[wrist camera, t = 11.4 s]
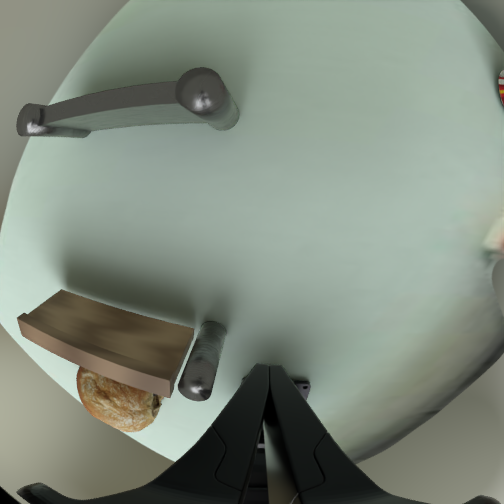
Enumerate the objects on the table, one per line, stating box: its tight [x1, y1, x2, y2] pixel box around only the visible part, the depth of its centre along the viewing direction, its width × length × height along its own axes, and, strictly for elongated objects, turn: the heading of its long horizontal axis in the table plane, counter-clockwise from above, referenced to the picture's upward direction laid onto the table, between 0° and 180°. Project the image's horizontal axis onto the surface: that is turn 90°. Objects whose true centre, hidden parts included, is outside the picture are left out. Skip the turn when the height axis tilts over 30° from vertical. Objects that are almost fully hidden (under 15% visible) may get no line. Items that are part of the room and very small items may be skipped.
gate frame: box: [17, 67, 239, 401], centre depth 16 cm, size 19×14×7 cm
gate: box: [17, 289, 194, 398], centre depth 18 cm, size 14×2×7 cm, turn 80°
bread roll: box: [76, 366, 164, 432], centre depth 23 cm, size 10×10×8 cm
